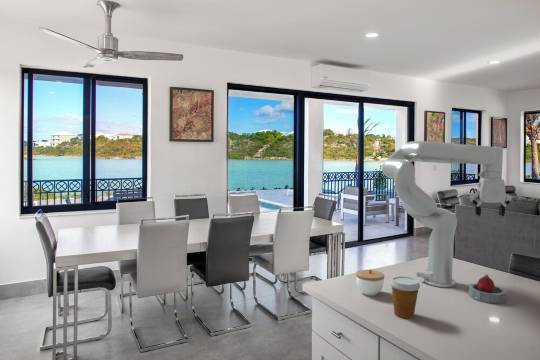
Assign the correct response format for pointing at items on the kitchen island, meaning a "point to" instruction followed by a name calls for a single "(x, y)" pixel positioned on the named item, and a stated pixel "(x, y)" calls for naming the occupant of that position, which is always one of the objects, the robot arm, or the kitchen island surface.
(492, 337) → the kitchen island surface
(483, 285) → the onion
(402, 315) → the disposable coffee cup
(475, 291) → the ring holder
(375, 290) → the lidded jar
